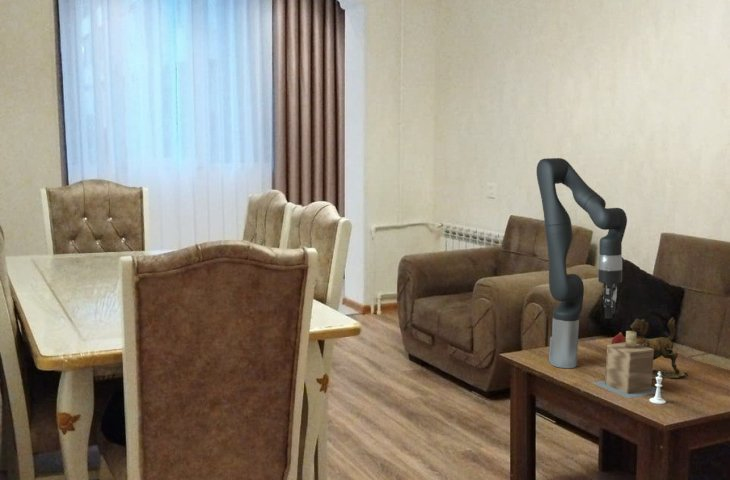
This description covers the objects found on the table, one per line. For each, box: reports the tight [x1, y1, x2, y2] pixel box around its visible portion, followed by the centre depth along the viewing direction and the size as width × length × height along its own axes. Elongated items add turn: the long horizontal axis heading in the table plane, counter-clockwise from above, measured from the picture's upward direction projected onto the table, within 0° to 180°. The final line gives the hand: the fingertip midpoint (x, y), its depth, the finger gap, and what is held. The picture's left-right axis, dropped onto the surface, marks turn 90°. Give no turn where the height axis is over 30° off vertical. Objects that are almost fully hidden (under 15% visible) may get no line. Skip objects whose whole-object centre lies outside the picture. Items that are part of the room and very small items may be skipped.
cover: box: [604, 330, 654, 394], centre depth 244 cm, size 10×10×19 cm
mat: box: [592, 380, 665, 399], centre depth 245 cm, size 16×16×1 cm
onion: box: [611, 331, 626, 344], centre depth 287 cm, size 6×6×8 cm
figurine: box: [630, 317, 689, 381], centre depth 257 cm, size 13×25×20 cm, turn 96°
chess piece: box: [648, 371, 667, 405], centre depth 231 cm, size 5×5×10 cm
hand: (609, 316), depth 249 cm, fingers open, 8 cm apart
